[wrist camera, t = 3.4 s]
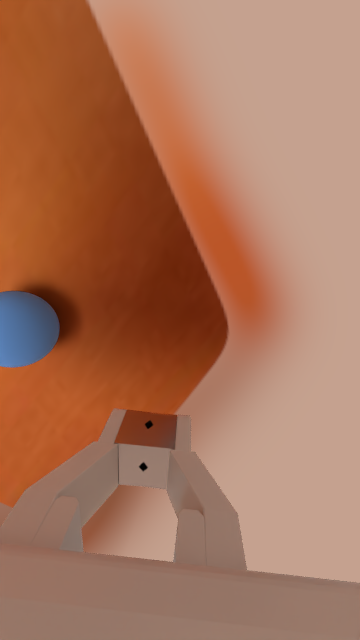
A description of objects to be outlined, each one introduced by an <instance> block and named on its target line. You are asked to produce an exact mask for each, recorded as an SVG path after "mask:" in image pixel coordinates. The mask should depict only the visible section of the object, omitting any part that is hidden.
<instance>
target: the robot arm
mask: <svg viewBox="0 0 360 640" xmlns="http://www.w3.org/2000/svg"><path fill="white" fill-rule="evenodd" d="M118 484H119V485H133V486H145V487H153V488H160V489H167V493H168V496H169V498H170V500H171V503H172V506H173V508H174V510H175V513H176V515H177V518H178V526H177V534H176V543H175V552H174V560H173V562H167V561H159V560H149V559H141V558H132V557H123V556H114V555H105V554H95V553H86V552H83V542H82V532H81V528H82V527H83V526H84V525H85V524H86V523H87V521H88V520H89V519H90V518H91V517H92V516H93V515H94V513H95V512H96V511H97V510H98V509H99V508H100V507H101V505H102V504H103V503H104V502H105V501H106V500H107V499H108V497H109V496H110V495H111V494H112V493H113V492H114V491H115V489H116V488H117V487H118ZM245 562H246V561H245V555H244V550H243V543H242V538H241V531H240V525H239V520H238V514H237V512H236V511H235V509H234V508H233V506H232V505H231V503H230V502H229V501H228V499H227V498H226V496H225V495H224V493H223V492H222V491H221V489H220V487H219V486H218V485H217V483H216V482H215V480H214V479H213V478H212V476H211V475H210V473H209V472H208V470H207V469H206V467H205V466H204V464H203V463H202V462H201V460H200V459H199V457H198V456H197V454H196V453H195V452H191V417H190V416H187V415H178V416H177V415H172V414H161V413H150V412H142V411H134V410H124V409H116V408H115V409H114V410H113V411H112V412H111V415H110V417H109V419H108V421H107V423H106V425H105V427H104V429H103V431H102V434H101V436H100V438H99V440H98V442H92V443H91V444H89V445H88V446H87V447H85V448H84V449H82V450H81V451H80V452H78V453H77V454H75V455H74V456H73V457H71V458H70V459H68V460H67V461H65V462H64V463H63V464H61V465H60V466H58V467H57V468H56V469H54V470H53V471H51V472H50V473H49V474H47V475H46V476H44V477H43V478H42V479H40V480H39V481H37V482H36V483H35V484H33V485H32V486H30V487H29V488H27V489H26V490H25V491H24V493H23V494H22V496H21V497H20V499H19V500H18V501H17V503H16V504H15V506H14V507H13V509H12V510H11V512H10V513H9V515H8V516H7V518H6V519H5V521H4V522H3V524H2V525H1V527H0V640H360V583H356V582H347V581H338V580H329V579H319V578H311V577H302V576H293V575H284V574H275V573H265V572H257V571H248V570H247V567H246V563H245Z"/></svg>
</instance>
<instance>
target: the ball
mask: <svg viewBox="0 0 360 640" xmlns="http://www.w3.org/2000/svg"><path fill="white" fill-rule="evenodd" d="M59 330H60V325H59V320H58V317H57V315H56V313H55V311H54V309H53V308H52V307H51V306H50V305H49V304H48V303H47V302H46V301H45V300H43V299H42V298H40V297H38V296H36V295H33V294H31V293H27V292H21V291H6V292H0V366H2V367H22V366H26V365H30V364H32V363H35V362H37V361H39V360H40V359H42V358H43V357H45V356H46V355H47V354H48V353H49V352H50V351H51V350H52V349H53V347H54V346H55V344H56V342H57V340H58V337H59Z"/></svg>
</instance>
